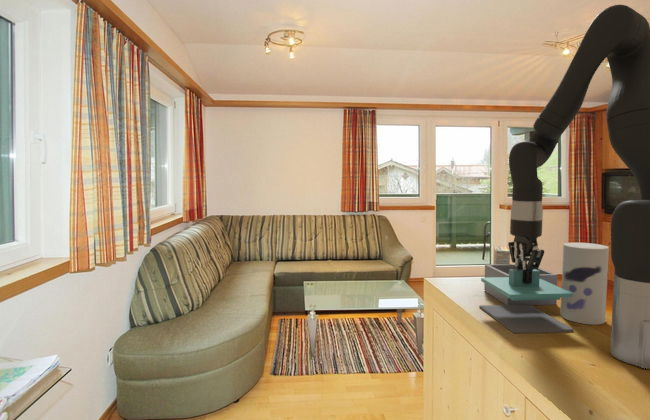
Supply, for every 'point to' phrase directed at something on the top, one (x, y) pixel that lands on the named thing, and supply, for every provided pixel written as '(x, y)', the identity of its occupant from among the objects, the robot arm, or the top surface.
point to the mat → (525, 319)
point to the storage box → (503, 271)
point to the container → (585, 282)
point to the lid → (526, 287)
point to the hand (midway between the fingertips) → (523, 281)
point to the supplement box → (501, 255)
